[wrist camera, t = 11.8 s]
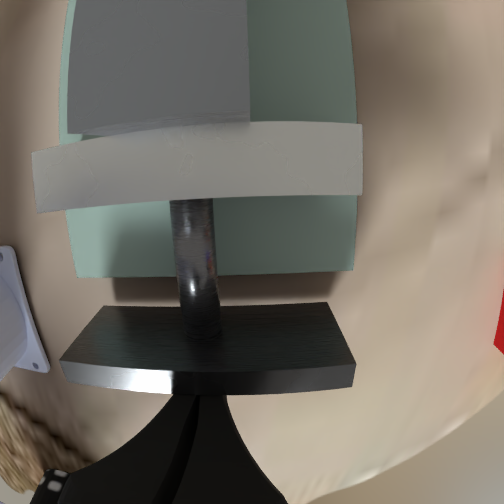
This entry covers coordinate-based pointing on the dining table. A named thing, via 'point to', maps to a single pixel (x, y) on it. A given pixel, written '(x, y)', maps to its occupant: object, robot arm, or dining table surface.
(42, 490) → the white-spotted black cylinder
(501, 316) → the puzzle toy
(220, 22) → the steel block
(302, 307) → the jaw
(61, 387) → the dining table surface
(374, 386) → the dining table surface
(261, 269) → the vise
